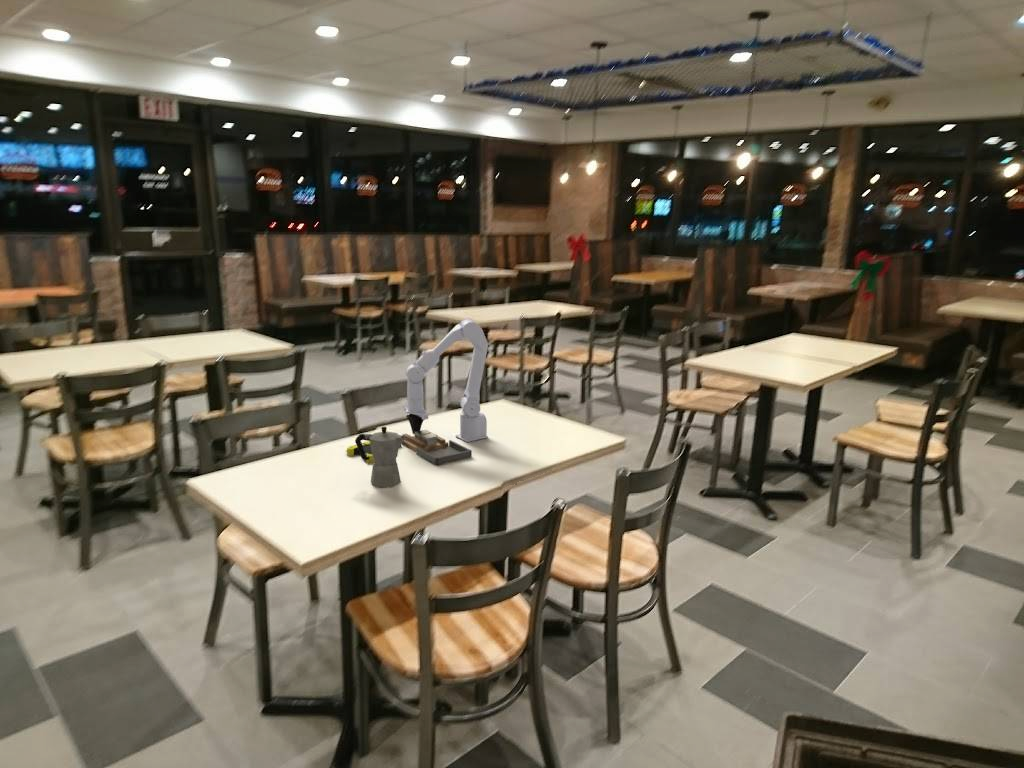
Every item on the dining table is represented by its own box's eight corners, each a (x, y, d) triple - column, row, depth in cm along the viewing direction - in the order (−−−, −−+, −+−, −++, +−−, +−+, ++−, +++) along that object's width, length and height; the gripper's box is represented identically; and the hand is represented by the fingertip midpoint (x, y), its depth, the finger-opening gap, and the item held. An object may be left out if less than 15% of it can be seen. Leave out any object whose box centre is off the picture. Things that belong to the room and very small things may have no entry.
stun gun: (414, 445, 232) (390, 434, 242) (366, 457, 219) (343, 446, 229) (414, 453, 232) (390, 442, 243) (367, 466, 219) (343, 454, 230)
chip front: (431, 441, 239) (431, 433, 238) (437, 444, 236) (437, 436, 235) (421, 443, 236) (421, 435, 236) (427, 446, 233) (427, 438, 232)
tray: (450, 446, 238) (450, 440, 238) (471, 457, 228) (471, 450, 227) (416, 454, 230) (416, 447, 229) (436, 465, 220) (436, 458, 219)
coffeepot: (409, 477, 210) (408, 422, 205) (404, 488, 201) (403, 432, 196) (360, 476, 210) (358, 421, 205) (353, 488, 200) (351, 431, 196)
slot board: (428, 436, 248) (428, 429, 248) (448, 446, 237) (448, 439, 237) (399, 442, 241) (399, 434, 240) (418, 453, 230) (418, 445, 230)
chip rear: (424, 437, 242) (424, 429, 242) (430, 440, 239) (429, 432, 239) (414, 439, 240) (414, 431, 239) (420, 442, 237) (420, 434, 236)
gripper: (395, 395, 243) (396, 430, 246) (415, 404, 232) (416, 441, 235) (413, 392, 247) (413, 427, 250) (433, 401, 236) (433, 437, 239)
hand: (416, 433), depth 243 cm, fingers closed
